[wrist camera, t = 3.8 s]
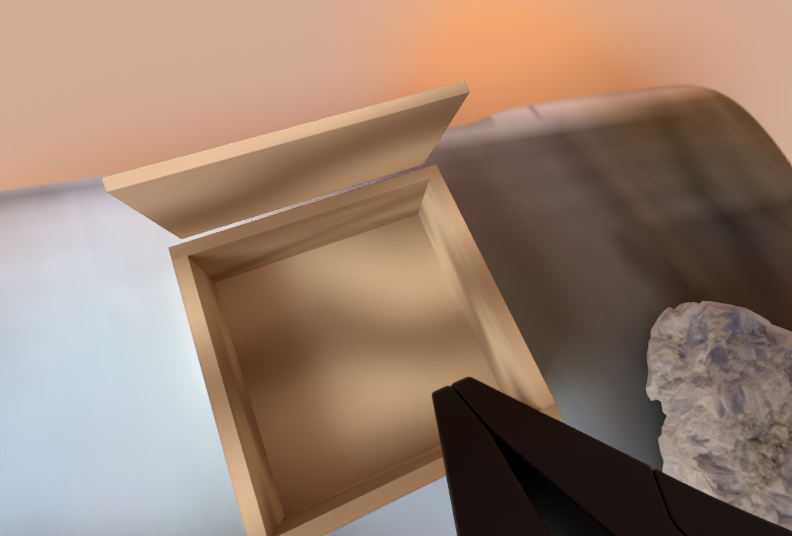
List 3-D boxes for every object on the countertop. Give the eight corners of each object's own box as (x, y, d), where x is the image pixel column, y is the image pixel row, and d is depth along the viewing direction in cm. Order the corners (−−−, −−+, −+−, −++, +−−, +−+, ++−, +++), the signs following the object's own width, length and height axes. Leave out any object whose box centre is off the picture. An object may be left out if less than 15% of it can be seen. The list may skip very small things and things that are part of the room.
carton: (523, 416, 20) (562, 417, 16) (276, 535, 17) (255, 569, 14) (422, 204, 23) (436, 164, 19) (202, 278, 20) (168, 247, 17)
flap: (469, 91, 13) (464, 80, 13) (106, 192, 11) (102, 177, 11) (423, 164, 19) (420, 155, 19) (181, 238, 17) (178, 229, 17)
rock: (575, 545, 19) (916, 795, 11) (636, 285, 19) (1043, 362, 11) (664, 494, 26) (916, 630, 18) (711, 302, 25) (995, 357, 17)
